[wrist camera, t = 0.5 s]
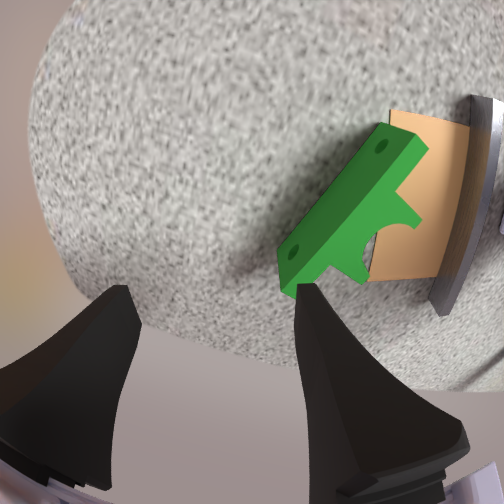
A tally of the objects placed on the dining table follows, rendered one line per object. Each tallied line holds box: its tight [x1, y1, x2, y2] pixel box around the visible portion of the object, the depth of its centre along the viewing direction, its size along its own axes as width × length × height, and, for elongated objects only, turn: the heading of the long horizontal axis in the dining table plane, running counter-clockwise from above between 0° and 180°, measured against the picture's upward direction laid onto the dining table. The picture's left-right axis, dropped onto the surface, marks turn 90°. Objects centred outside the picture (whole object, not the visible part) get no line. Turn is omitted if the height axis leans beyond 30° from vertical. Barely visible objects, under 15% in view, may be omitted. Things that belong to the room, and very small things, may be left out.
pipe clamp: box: [277, 122, 429, 299], centre depth 16 cm, size 11×4×5 cm, turn 146°
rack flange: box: [367, 95, 504, 317], centre depth 16 cm, size 10×18×2 cm, turn 2°
